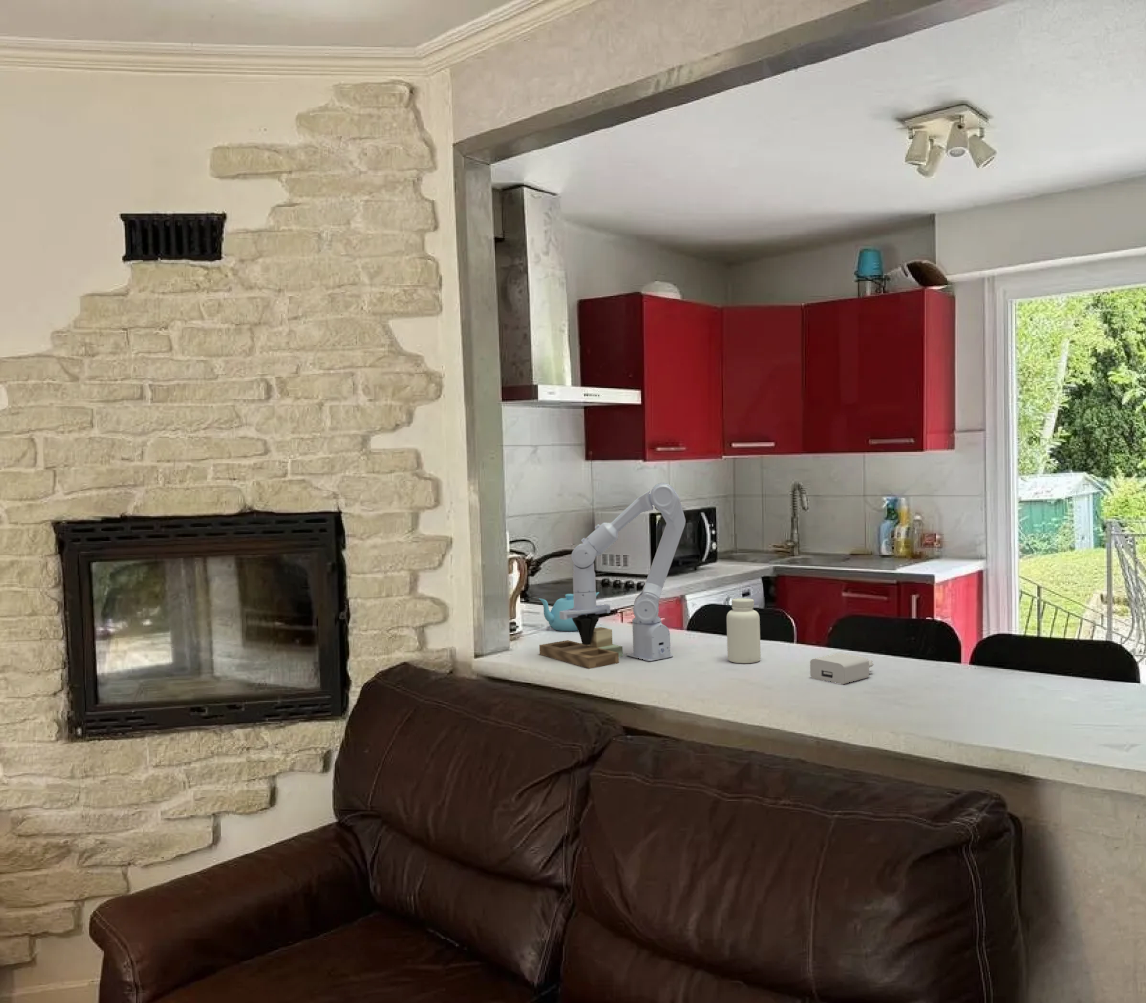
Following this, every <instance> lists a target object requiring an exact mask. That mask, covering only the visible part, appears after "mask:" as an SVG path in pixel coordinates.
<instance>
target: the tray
mask: <svg viewBox="0 0 1146 1003" xmlns="http://www.w3.org/2000/svg"><path fill="white" fill-rule="evenodd" d="M539 656H544V657H547V658H551V659H555V660H558V661H561V662H564V663H568V664H572V665H575V666H579V667H582V668H586V669H594V668H600V667H604V666H610V665H615V663H616V664H619V663H620V657H623V646H621V645H619V644H618V645H617V644H614V643H612V645H610V646H604V647H599V648H596V647H592V646H588V645H584V644H582V642H577V641H573V640H560V641H555V642H550V643H549V642H548V643H543V644H539Z"/></svg>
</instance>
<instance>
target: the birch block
mask: <svg viewBox="0 0 1146 1003" xmlns="http://www.w3.org/2000/svg"><path fill="white" fill-rule="evenodd" d="M612 644H613V629H611V628H607V627H602V626H600V627H599V626H597V627H595V628H594V631H593V635H592V639H591V644H589V645H588V646H592V647H596V648H599V647H604V646H610V645H612Z"/></svg>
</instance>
